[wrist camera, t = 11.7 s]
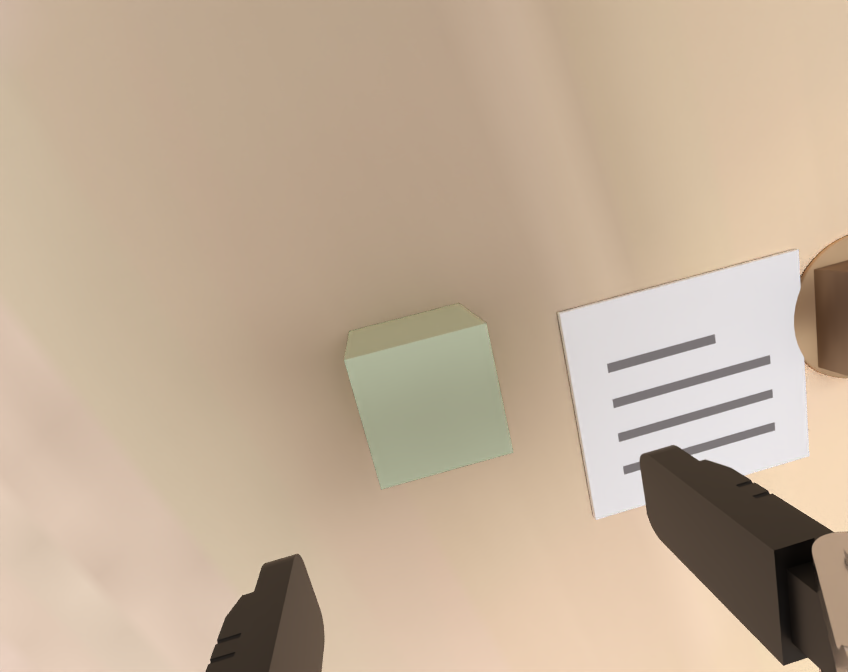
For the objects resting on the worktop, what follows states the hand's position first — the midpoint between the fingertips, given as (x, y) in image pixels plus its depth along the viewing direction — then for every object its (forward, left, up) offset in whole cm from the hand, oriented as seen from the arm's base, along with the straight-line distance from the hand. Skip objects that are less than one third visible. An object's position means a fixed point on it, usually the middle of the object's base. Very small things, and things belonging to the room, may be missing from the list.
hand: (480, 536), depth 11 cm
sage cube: (0, 0, -13) cm, 13 cm away
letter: (+5, +14, -13) cm, 20 cm away
